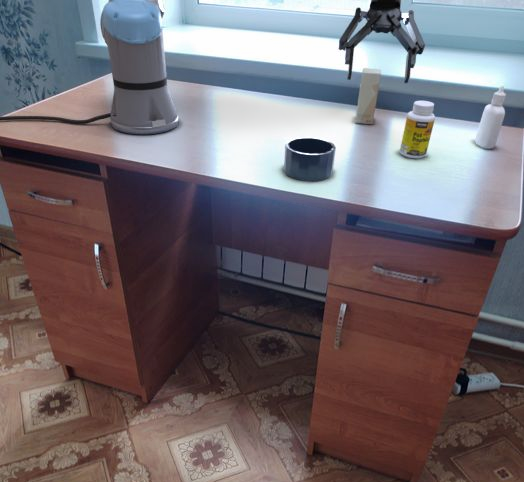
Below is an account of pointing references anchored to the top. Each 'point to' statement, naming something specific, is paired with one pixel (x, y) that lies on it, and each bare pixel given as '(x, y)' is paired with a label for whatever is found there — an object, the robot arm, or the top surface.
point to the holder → (309, 158)
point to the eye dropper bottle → (491, 121)
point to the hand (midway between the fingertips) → (378, 78)
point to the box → (368, 95)
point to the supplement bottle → (418, 130)
